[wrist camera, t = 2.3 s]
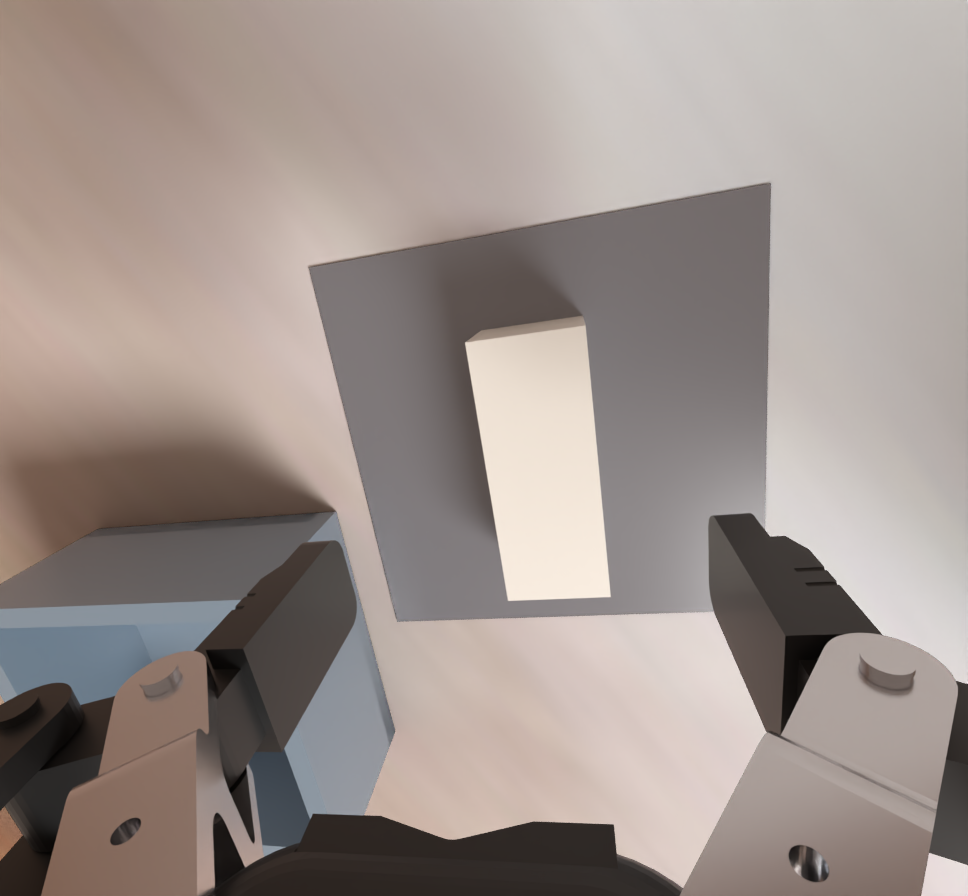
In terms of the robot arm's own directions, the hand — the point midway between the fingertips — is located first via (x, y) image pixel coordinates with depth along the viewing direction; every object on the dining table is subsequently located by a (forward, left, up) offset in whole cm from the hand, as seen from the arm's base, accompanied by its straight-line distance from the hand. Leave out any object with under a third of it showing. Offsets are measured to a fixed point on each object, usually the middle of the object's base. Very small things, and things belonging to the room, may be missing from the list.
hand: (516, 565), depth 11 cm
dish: (+15, +8, -8) cm, 19 cm away
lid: (0, 0, -9) cm, 9 cm away
